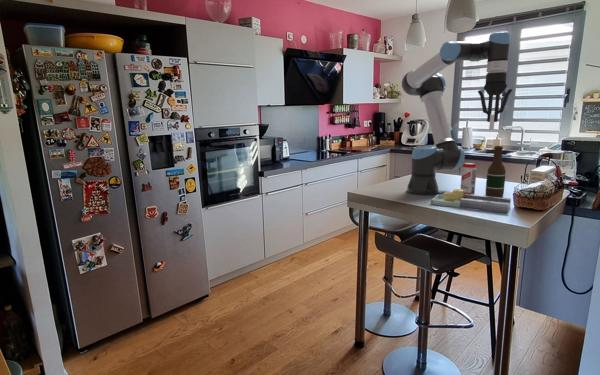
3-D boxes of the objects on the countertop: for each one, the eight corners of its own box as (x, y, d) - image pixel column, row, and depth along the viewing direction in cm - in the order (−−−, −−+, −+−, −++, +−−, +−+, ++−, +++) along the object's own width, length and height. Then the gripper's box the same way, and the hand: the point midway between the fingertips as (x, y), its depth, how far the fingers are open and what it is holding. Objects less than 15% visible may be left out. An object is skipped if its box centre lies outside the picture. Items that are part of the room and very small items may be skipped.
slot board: (459, 207, 156) (460, 199, 155) (464, 201, 164) (465, 193, 164) (507, 213, 146) (508, 204, 145) (510, 206, 154) (510, 198, 154)
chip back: (453, 202, 160) (443, 202, 163) (455, 200, 164) (445, 200, 166) (453, 194, 160) (443, 193, 162) (455, 192, 163) (445, 191, 165)
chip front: (452, 199, 160) (452, 190, 159) (454, 197, 163) (454, 189, 162) (462, 200, 157) (462, 191, 157) (464, 198, 161) (464, 189, 160)
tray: (430, 204, 162) (431, 199, 162) (437, 198, 171) (437, 194, 171) (459, 207, 155) (459, 203, 155) (464, 201, 165) (465, 197, 164)
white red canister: (468, 198, 170) (470, 164, 166) (457, 195, 175) (459, 163, 172) (477, 196, 173) (479, 163, 169) (465, 193, 178) (468, 161, 175)
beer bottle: (481, 194, 176) (485, 145, 170) (496, 194, 176) (501, 144, 171) (491, 198, 168) (495, 147, 163) (507, 198, 169) (512, 146, 163)
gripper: (477, 73, 150) (473, 130, 155) (513, 70, 143) (507, 130, 148) (480, 74, 156) (476, 129, 161) (515, 71, 149) (509, 129, 154)
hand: (491, 129), depth 155 cm, fingers closed
